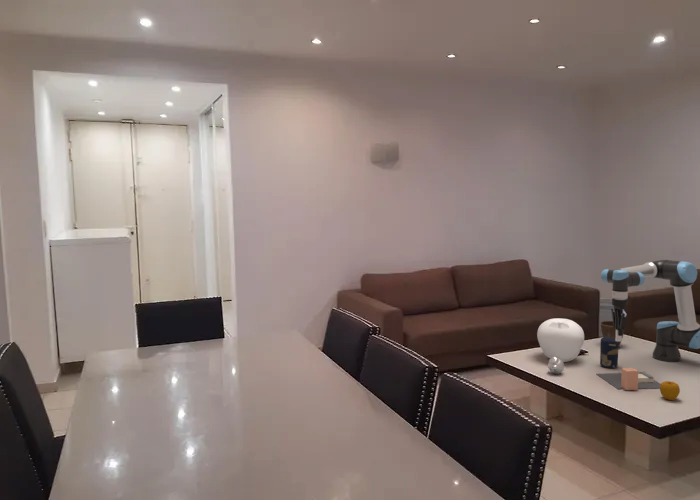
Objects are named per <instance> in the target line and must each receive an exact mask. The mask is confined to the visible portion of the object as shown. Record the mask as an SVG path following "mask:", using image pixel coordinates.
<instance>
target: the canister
mask: <svg viewBox="0 0 700 500" xmlns="http://www.w3.org/2000/svg"><path fill="white" fill-rule="evenodd" d="M599 353H600V356H599V364H600V366H601V367H603V368H607V369H617V368H618V365H619V362H618V361H619V347H618V341H615V338H610V337H604V338H603V337H602V338H601V339H600V350H599Z"/></svg>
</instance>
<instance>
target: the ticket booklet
mask: <svg viewBox="0 0 700 500" xmlns="http://www.w3.org/2000/svg"><path fill="white" fill-rule="evenodd" d="M639 373H641V374H638V383H639V382H654V380H655V377H654V376H653V375H651V374H650V373H648V372H645V371H640V372H639Z"/></svg>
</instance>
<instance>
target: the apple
mask: <svg viewBox="0 0 700 500" xmlns="http://www.w3.org/2000/svg"><path fill="white" fill-rule="evenodd" d="M660 384H661V385H660V389H659V391H660V394H661V396H662V397H663V399H665V400H667V401H674V400H675V401H676V399H677V398H678V396H679V395H680V392H681V390H680V386H679V384H678V383H677V382H674V381H669V380H668V381H667V380H666V381H665V380H664V381H662V382H661V383H660Z"/></svg>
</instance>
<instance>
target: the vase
mask: <svg viewBox="0 0 700 500" xmlns="http://www.w3.org/2000/svg"><path fill="white" fill-rule="evenodd" d="M536 335H537V341H538V344H539V346H540V349H541V351H542V352H543V354H544V356H546V357H547V358H549V359H551V358H552V357H557V358H558V359H560V360H562V361H563V363H568V362H570V361H572V360H575V359H576V358H577V357H578V355H579V353H580V352H581V350H582V347H583V345H584V342H585V333H584V330H583V328H582V326H580V325H579V324H578V323H577V322H575V321H574V320H572V319H568V318H558V317H557V318H550V319H547V320H545V321H544V322H542V323H541V324H540V325H539V327H538V329H537V332H536Z"/></svg>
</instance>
